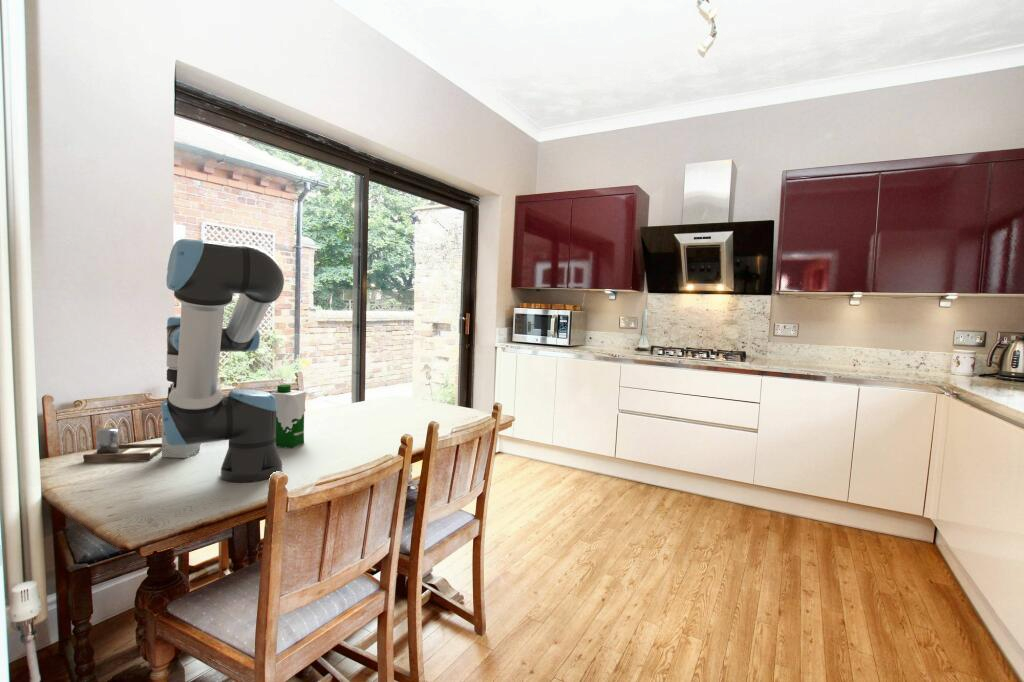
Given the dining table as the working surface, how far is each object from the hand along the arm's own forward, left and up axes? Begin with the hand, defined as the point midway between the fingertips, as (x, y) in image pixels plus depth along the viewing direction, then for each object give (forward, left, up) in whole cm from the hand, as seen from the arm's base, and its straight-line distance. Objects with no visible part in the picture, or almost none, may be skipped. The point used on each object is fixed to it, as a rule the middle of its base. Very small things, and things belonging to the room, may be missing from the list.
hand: (181, 436), depth 148 cm
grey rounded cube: (0, +19, -4) cm, 19 cm away
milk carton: (+8, -29, -6) cm, 31 cm away
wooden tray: (0, +14, -6) cm, 15 cm away
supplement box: (0, 0, -6) cm, 6 cm away
